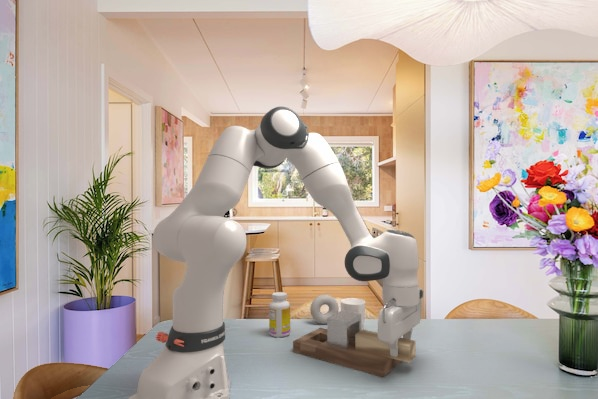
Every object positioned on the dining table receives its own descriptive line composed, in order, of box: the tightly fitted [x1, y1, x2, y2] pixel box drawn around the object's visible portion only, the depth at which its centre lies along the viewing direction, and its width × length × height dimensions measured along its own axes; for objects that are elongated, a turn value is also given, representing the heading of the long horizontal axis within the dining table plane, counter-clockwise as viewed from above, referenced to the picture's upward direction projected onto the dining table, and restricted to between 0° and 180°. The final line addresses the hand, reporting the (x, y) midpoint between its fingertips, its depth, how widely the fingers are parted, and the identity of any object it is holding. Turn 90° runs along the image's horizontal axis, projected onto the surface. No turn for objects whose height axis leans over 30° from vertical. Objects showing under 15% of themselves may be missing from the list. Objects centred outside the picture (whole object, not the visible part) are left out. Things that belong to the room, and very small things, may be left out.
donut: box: [309, 294, 339, 325], centre depth 132 cm, size 10×4×10 cm, turn 102°
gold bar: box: [355, 329, 417, 364], centre depth 99 cm, size 4×14×4 cm, turn 54°
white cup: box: [340, 297, 366, 330], centre depth 123 cm, size 8×8×10 cm
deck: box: [292, 327, 402, 378], centre depth 105 cm, size 14×27×3 cm, turn 54°
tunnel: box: [326, 310, 361, 350], centre depth 106 cm, size 8×6×8 cm
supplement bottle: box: [268, 291, 291, 338], centre depth 122 cm, size 7×7×13 cm
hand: (400, 350), depth 96 cm, fingers open, 6 cm apart
